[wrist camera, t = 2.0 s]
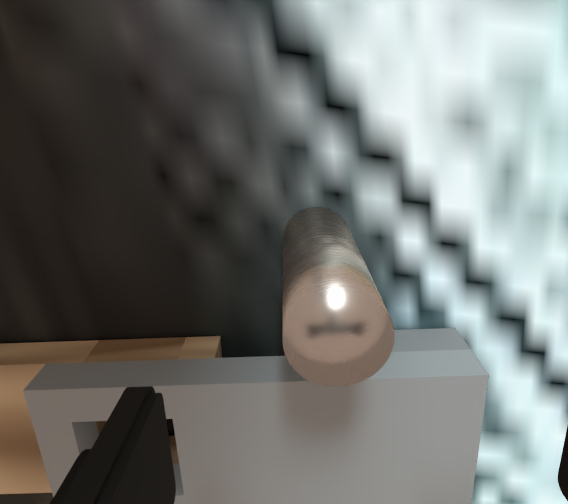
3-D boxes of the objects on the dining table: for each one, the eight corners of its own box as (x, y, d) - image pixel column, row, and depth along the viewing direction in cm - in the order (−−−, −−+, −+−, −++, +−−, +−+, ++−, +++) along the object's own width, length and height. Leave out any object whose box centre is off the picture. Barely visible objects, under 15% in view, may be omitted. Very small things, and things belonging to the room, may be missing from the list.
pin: (281, 208, 21) (280, 291, 12) (350, 205, 21) (397, 287, 12) (284, 272, 22) (284, 388, 13) (349, 269, 22) (392, 385, 13)
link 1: (-166, 349, 23) (-205, 372, 21) (220, 336, 23) (214, 357, 21) (-113, 469, 26) (-144, 498, 24) (232, 457, 26) (228, 487, 24)
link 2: (65, 341, 23) (23, 390, 19) (455, 327, 23) (488, 374, 19) (93, 462, 26) (61, 526, 22) (442, 451, 26) (469, 513, 22)
